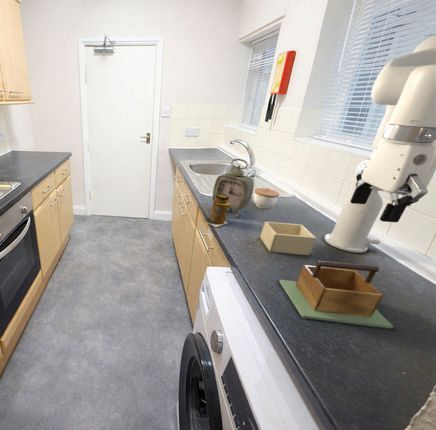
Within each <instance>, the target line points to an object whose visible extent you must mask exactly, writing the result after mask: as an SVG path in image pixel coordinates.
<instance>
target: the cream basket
mask: <svg viewBox="0 0 436 430" xmlns="http://www.w3.org/2000/svg"><path fill="white" fill-rule="evenodd" d="M259 239H260V240H261V241H262V243H263V245H264V246H265V247H266V249H267V250H268V251H269V252H270V253H278V254H279V253H280V254H290V255H299V256H310V255H311V253H312V250H313V248H314V245H315V243H316V240H317V236H315V235H314V234H313V233H312V232H310V230H308V228H306V226H304V224H300V223H299V224H298V223H288V222H276V221H274V222H273V221H264V222H263V226H262V229H261V233H260V235H259Z"/></svg>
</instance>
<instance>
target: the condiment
mask: <svg viewBox="0 0 436 430" xmlns="http://www.w3.org/2000/svg"><path fill="white" fill-rule="evenodd" d="M228 201H229V196H228V195H225V194H216V197H215V200H214V202H212V207H211V212H210V217H208V218H205V219H202V221H203V222H205V223H207V224H208V225H210V226H213V227H215V228H218V227H221V226H223V225H226V224H229V221H226V217H227V213H228V210H229V209H228V205H229V203H228Z"/></svg>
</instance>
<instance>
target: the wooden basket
mask: <svg viewBox="0 0 436 430" xmlns="http://www.w3.org/2000/svg"><path fill="white" fill-rule="evenodd" d="M315 263H316V264H315V265H310V264H309V265H308V264H303V265H302V268H301V271H300V273H299V275H298V278H297V280H296V281H297V283H296V286H297V288H298V289H299V290H300V292H301V293H302V295H303V296H304V297H305V299H306V300H307V302H308V303H309V304H310V306H311V307H312V308H313V310H314V311H320V312H329V313H337V314H345V315H354V316H362V317H370V318H371V317H372V315H373V313H374V312H375V310H377V308H378V306H380V304H381V301H382V300H383V298H384V296H385V295H384V294H383V293H382V292H380V291H379V290H378V289H377V288H376V287H375V286H374V285H373V284H372V283H371V282H372V280H373V279H374V277H375V275H376V273H378V272H379V271H380V268H379V266H376V265H368V264H359V263H357V264H356V263H346V262H338V261H327V260H316V262H315ZM358 271H363V272H369V273H368V275H367V276H366V278H365V277H364V276H363V275H362V274H361V273H360V272H358Z"/></svg>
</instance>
